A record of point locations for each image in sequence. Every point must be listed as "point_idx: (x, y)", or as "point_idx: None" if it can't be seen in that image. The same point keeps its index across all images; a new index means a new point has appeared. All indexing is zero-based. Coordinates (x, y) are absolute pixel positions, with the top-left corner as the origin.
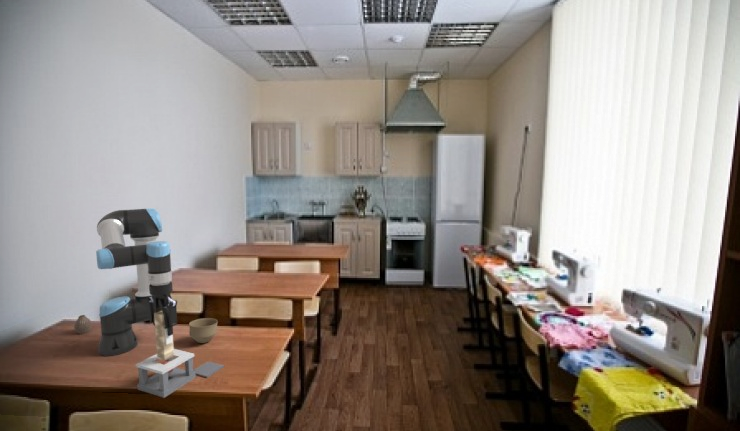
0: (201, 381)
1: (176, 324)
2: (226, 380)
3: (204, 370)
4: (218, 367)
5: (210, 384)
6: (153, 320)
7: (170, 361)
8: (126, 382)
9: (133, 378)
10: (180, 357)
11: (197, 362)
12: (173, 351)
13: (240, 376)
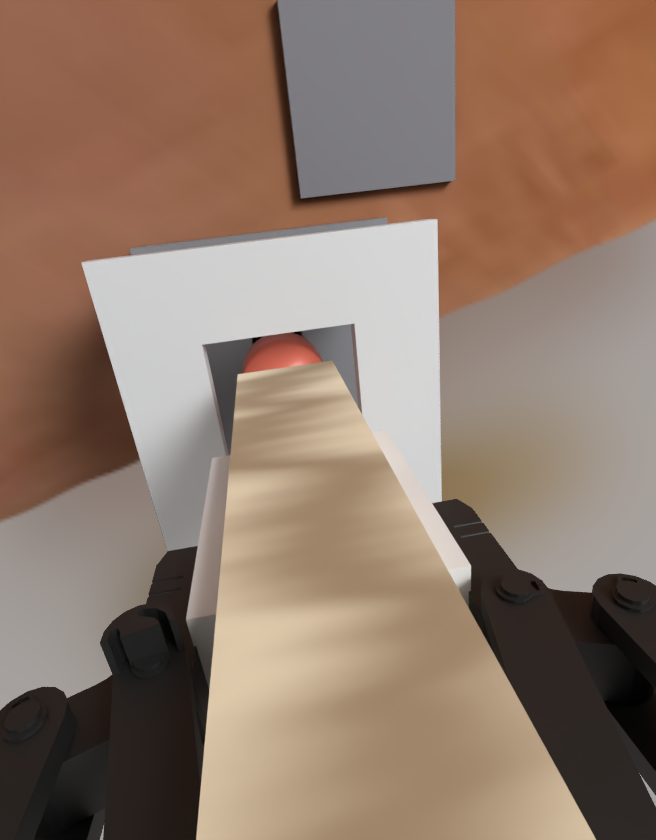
0: (447, 230)
1: (634, 581)
2: (587, 138)
3: (374, 130)
4: (438, 38)
5: (523, 225)
6: (101, 810)
7: (365, 408)
8: (54, 462)
9: (37, 423)
10: (379, 329)
11: (194, 47)
12: (340, 376)
13: (648, 47)
